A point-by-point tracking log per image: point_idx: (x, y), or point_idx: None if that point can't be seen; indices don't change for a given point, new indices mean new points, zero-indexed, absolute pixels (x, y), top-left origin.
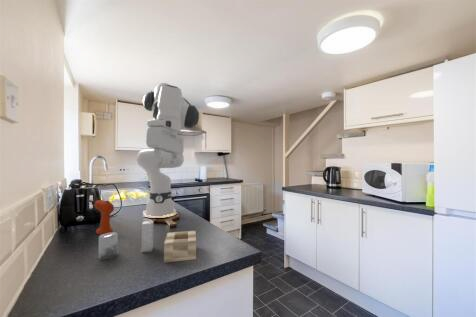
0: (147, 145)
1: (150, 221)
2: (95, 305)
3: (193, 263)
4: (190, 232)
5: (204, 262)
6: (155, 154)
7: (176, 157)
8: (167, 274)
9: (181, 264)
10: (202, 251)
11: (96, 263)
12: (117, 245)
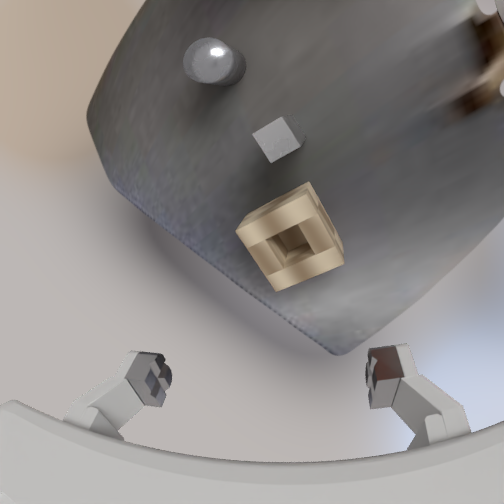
0: (5, 404)
1: (287, 142)
2: (126, 198)
3: None
4: (326, 257)
5: None
6: (95, 393)
7: (416, 430)
8: (215, 244)
9: None
10: None
11: None
12: (229, 80)
